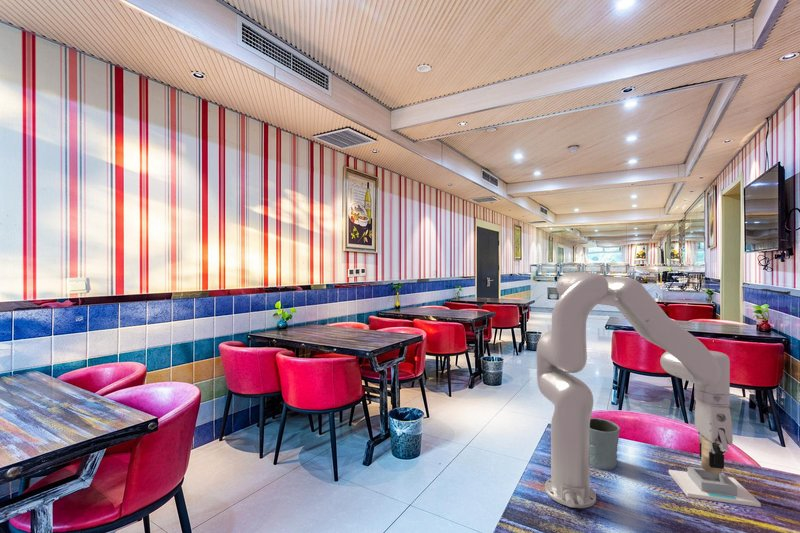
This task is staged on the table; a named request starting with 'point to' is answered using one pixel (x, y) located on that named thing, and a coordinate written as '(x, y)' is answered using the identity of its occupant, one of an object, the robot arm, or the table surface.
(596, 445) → the grey cylindrical pot
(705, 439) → the barrel peg
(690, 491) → the white square-hole tray
